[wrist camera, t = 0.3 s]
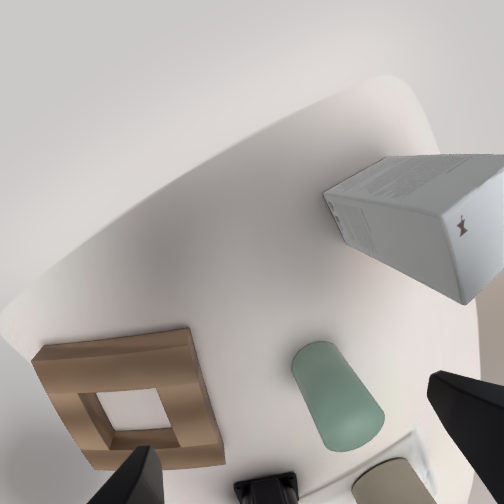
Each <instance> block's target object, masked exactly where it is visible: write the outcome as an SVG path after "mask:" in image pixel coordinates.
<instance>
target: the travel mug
mask: <svg viewBox="0 0 504 504" xmlns="http://www.w3.org/2000/svg"><path fill="white" fill-rule="evenodd" d="M352 493H353V495H354V497H355V499H356V502H357V504H437V503H436V502H435V500H434V499H433V497H432V496H431V494H430V493H429V492H428V490H427V489H426V487H425V486H424V484H423V483H422V481H421V480H420V478H419V477H418V475H417V474H416V472H415V471H414V469H413V468H412V467H411V465H410V464H409V462H408V461H407V460H405V459H395V460H391V461H388V462H386V463H383V464H381V465H378V466H376V467H375V468H373V469H371V470H370V471H369V472H367V473H366V474H364V475H363V476H362V477H361V478H360V479H359V480H358V481H357V482H356V483H355V485H354V487H353V489H352Z"/></svg>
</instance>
